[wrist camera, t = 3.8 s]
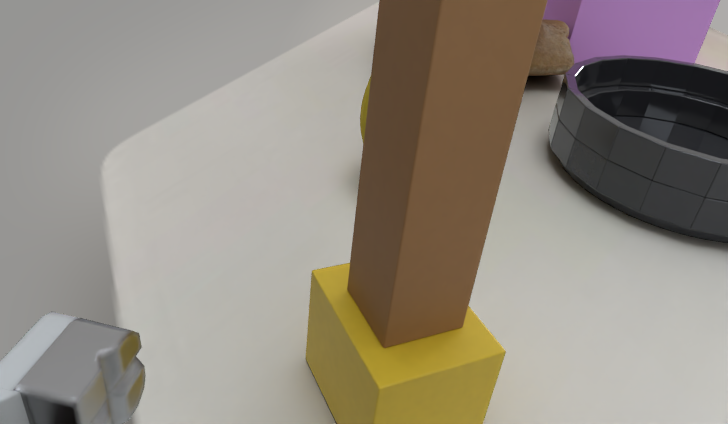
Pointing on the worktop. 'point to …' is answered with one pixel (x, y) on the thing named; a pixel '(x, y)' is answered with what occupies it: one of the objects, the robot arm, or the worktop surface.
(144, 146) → the worktop surface
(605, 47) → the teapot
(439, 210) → the sponge wand
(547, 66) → the stone cup
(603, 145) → the bowl
